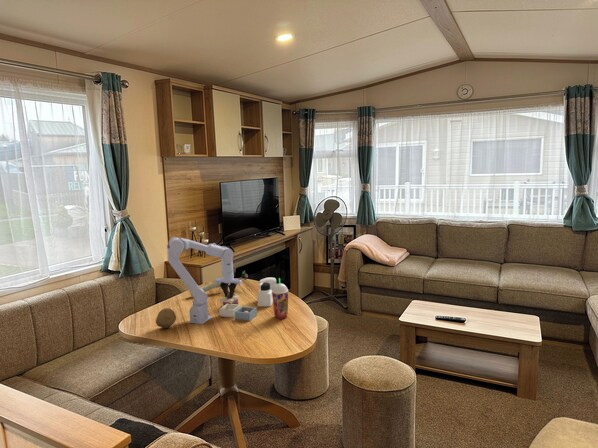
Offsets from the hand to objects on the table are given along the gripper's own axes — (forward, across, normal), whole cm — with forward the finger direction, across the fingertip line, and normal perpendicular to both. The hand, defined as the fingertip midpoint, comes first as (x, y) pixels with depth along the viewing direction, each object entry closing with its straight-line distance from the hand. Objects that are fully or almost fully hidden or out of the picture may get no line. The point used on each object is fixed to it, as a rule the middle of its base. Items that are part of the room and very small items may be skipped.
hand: (229, 296), depth 209 cm
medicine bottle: (+10, -12, -18) cm, 24 cm away
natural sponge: (+10, +21, +24) cm, 33 cm away
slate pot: (+9, -10, +2) cm, 14 cm away
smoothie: (+10, -27, -3) cm, 29 cm away
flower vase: (+10, +23, -30) cm, 39 cm away
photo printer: (+10, -10, -27) cm, 30 cm away
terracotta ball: (+7, -10, +2) cm, 13 cm away
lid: (+2, 0, 0) cm, 2 cm away
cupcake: (+7, +8, -12) cm, 16 cm away
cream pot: (+9, 0, 0) cm, 9 cm away
